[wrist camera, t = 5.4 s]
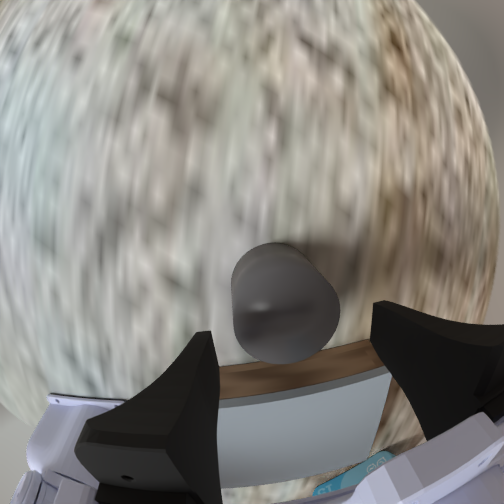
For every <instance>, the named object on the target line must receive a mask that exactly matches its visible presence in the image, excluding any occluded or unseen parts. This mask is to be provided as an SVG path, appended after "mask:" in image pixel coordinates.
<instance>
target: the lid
mask: <svg viewBox="0 0 504 504" xmlns="http://www.w3.org/2000/svg"><path fill="white" fill-rule="evenodd" d="M391 377H392V375H391V373H390V372H389V371H388V369H387V368H386V367H385V366H382V367H379V368H376V369H373V370H369V371H366V372H363V373H359V374H355V375H352V376H348V377H344V378H341V379H337V380H333V381H329V382H324V383H320V384H316V385H311V386H306V387H302V388H297V389H291V390H286V391H281V392H275V393H269V394H262V395H255V396H248V397H240V398H232V399H222V400H219V410H218V423H217V449H218V464H219V476H220V486H221V489H222V488H237V487H248V486H257V485H265V484H272V483H278V482H284V481H290V480H295V479H300V478H305V477H309V476H313V475H318V474H322V473H326V472H329V471H333V470H337V469H340V468H344V467H347V466H350V465H353V464H356V463H359V462H362V461H365V460H367V458H368V455H369V453H370V450H371V447H372V444H373V441H374V438H375V435H376V432H377V429H378V426H379V423H380V419H381V416H382V412H383V409H384V405H385V402H386V398H387V394H388V390H389V386H390V382H391Z"/></svg>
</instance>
